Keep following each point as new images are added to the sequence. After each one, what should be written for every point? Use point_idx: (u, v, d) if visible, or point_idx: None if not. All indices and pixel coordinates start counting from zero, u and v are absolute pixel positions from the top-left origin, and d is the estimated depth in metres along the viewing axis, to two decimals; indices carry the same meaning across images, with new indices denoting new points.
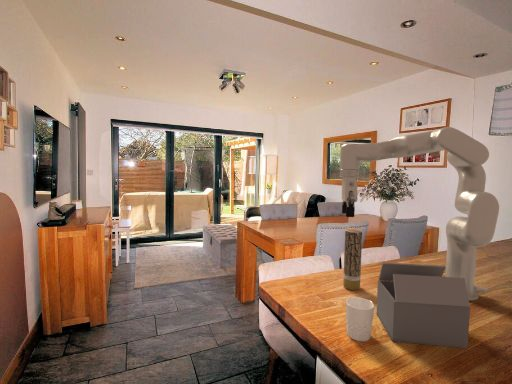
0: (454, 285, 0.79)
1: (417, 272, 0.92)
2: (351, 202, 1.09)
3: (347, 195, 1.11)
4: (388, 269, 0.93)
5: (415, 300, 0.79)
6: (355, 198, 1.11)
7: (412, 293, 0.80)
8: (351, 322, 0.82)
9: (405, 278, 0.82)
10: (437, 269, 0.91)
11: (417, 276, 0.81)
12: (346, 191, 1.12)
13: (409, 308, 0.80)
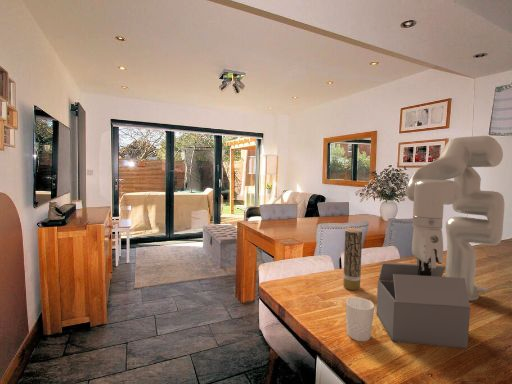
0: (454, 285, 0.79)
1: None
2: None
3: (426, 261, 0.80)
4: (388, 269, 0.93)
5: (415, 300, 0.79)
6: (440, 259, 0.78)
7: (412, 293, 0.80)
8: (351, 322, 0.82)
9: (405, 278, 0.82)
10: (437, 269, 0.91)
11: (417, 276, 0.81)
12: (427, 249, 0.79)
13: (409, 308, 0.80)
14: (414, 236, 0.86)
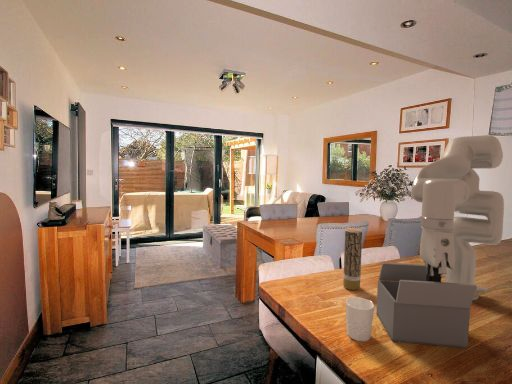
0: (462, 291, 0.76)
1: (417, 272, 0.92)
2: None
3: None
4: (388, 269, 0.93)
5: (416, 302, 0.79)
6: (451, 264, 0.73)
7: (415, 297, 0.78)
8: (351, 322, 0.82)
9: (412, 285, 0.77)
10: None
11: (425, 283, 0.76)
12: (437, 253, 0.73)
13: (409, 308, 0.80)
14: (422, 239, 0.80)
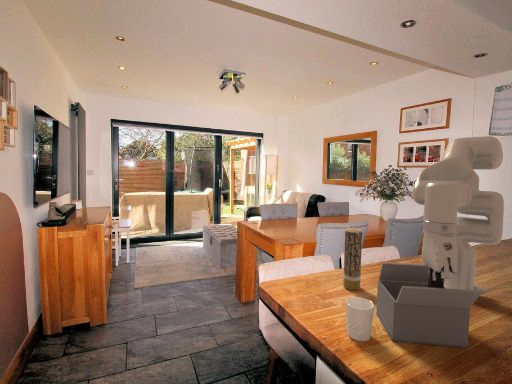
0: (465, 296, 0.74)
1: (417, 272, 0.92)
2: None
3: None
4: (388, 269, 0.93)
5: (416, 303, 0.79)
6: (454, 269, 0.71)
7: (416, 299, 0.78)
8: (351, 322, 0.82)
9: (414, 290, 0.75)
10: None
11: (428, 290, 0.75)
12: (439, 257, 0.72)
13: (409, 308, 0.80)
14: (424, 242, 0.79)
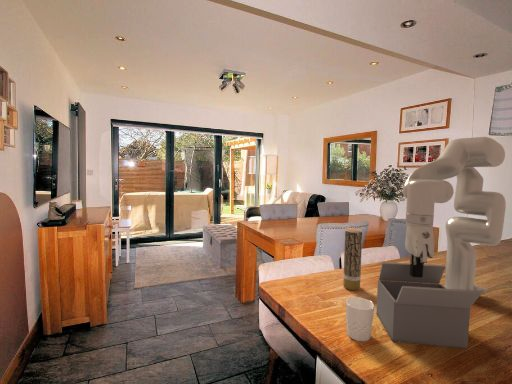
0: (465, 296, 0.74)
1: None
2: None
3: None
4: (388, 269, 0.93)
5: (416, 303, 0.79)
6: (431, 254, 0.83)
7: (416, 300, 0.78)
8: (351, 322, 0.82)
9: (414, 291, 0.75)
10: (437, 269, 0.91)
11: (428, 290, 0.75)
12: (419, 244, 0.84)
13: (409, 308, 0.80)
14: (407, 232, 0.91)
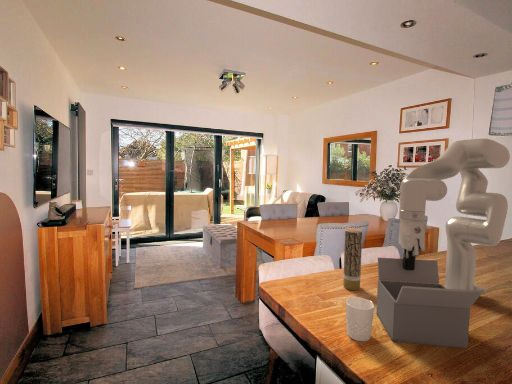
0: (465, 296, 0.74)
1: None
2: None
3: (410, 249, 0.91)
4: (385, 265, 0.97)
5: (416, 303, 0.79)
6: (422, 248, 0.89)
7: (416, 300, 0.78)
8: (351, 322, 0.82)
9: (414, 291, 0.75)
10: (430, 263, 0.95)
11: (428, 290, 0.75)
12: (411, 239, 0.90)
13: (409, 308, 0.80)
14: (400, 228, 0.96)
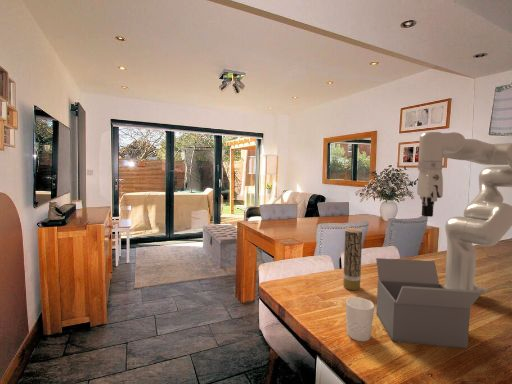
0: (465, 296, 0.74)
1: (412, 268, 0.97)
2: None
3: (429, 196, 1.00)
4: (384, 265, 0.98)
5: (416, 303, 0.79)
6: (440, 193, 0.98)
7: (416, 300, 0.78)
8: (351, 322, 0.82)
9: (414, 291, 0.75)
10: (428, 264, 0.97)
11: (428, 290, 0.75)
12: (430, 185, 0.98)
13: (409, 308, 0.80)
14: (419, 179, 1.05)
